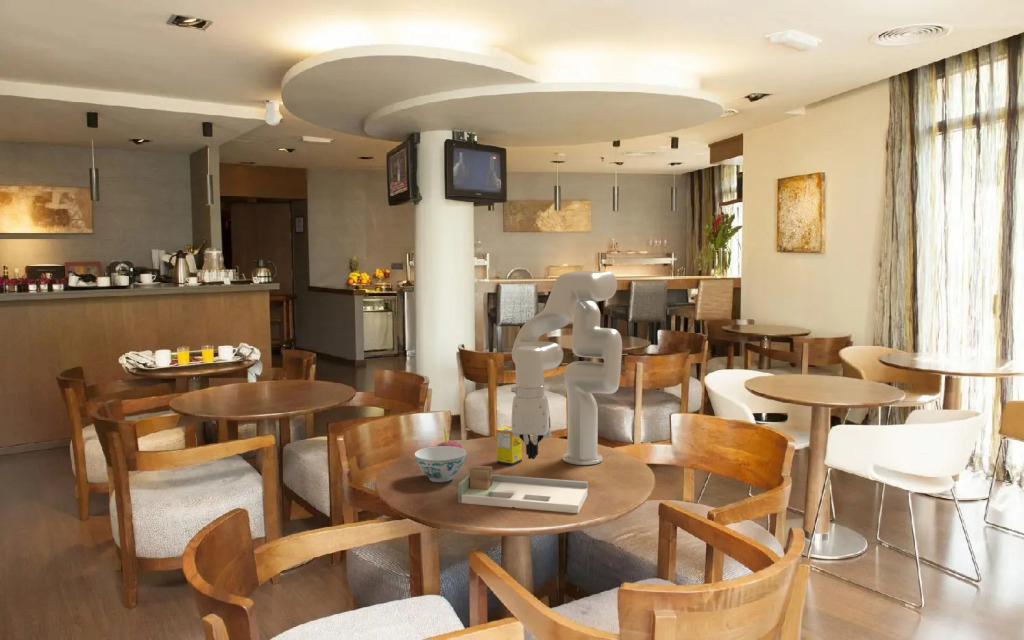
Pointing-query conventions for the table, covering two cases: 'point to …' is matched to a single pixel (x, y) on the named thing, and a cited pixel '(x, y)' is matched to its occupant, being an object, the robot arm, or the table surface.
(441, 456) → the chinaware
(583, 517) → the table surface
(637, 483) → the table surface
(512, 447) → the supplement box
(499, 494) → the trap board
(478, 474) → the walnut block
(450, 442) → the cupcake
